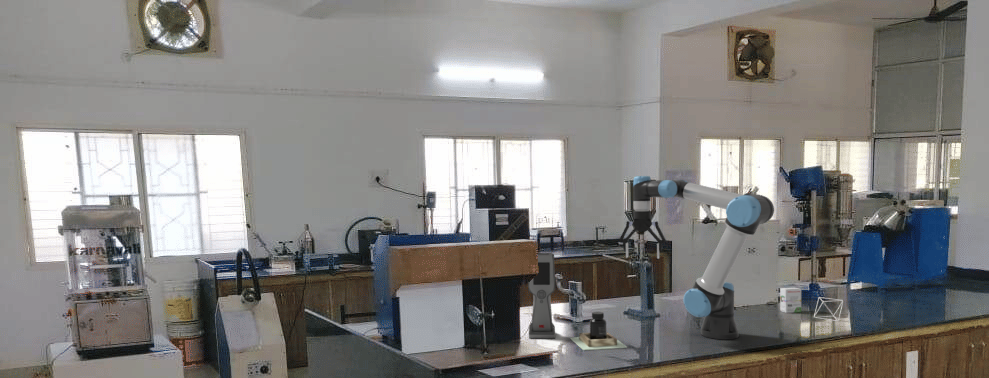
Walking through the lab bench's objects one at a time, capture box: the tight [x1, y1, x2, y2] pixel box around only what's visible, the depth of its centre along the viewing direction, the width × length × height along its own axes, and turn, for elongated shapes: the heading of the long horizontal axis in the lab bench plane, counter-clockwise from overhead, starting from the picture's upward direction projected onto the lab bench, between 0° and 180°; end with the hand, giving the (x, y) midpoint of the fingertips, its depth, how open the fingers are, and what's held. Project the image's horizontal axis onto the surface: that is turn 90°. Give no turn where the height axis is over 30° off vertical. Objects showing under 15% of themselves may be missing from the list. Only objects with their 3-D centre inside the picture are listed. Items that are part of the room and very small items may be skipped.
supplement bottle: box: [589, 311, 607, 340], centre depth 244 cm, size 7×7×12 cm
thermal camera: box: [527, 252, 556, 340], centre depth 257 cm, size 12×13×35 cm
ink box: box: [779, 287, 802, 314], centre depth 296 cm, size 8×5×12 cm, turn 99°
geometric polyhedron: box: [813, 296, 844, 322], centre depth 282 cm, size 12×11×9 cm
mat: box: [569, 336, 628, 351], centre depth 243 cm, size 18×18×1 cm
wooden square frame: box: [578, 332, 618, 347], centre depth 243 cm, size 12×12×2 cm
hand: (642, 257), depth 266 cm, fingers open, 13 cm apart
